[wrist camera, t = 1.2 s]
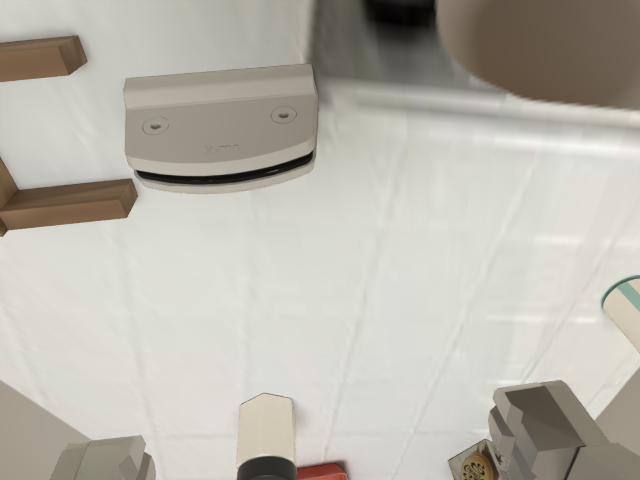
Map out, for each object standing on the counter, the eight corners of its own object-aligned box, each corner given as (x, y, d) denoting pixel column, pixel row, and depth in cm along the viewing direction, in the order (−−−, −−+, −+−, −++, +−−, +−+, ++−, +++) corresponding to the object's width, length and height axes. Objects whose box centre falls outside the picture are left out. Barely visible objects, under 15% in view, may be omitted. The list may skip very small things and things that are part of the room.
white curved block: (315, 62, 38) (327, 144, 32) (317, 107, 41) (328, 186, 36) (121, 78, 37) (99, 163, 31) (141, 122, 41) (125, 204, 35)
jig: (-138, 56, 34) (-192, 73, 30) (77, 35, 35) (51, 50, 31) (-33, 213, 43) (-64, 243, 39) (137, 196, 44) (123, 223, 40)
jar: (231, 418, 68) (224, 500, 58) (249, 388, 64) (244, 471, 54) (284, 428, 71) (286, 507, 61) (305, 400, 67) (309, 480, 57)
